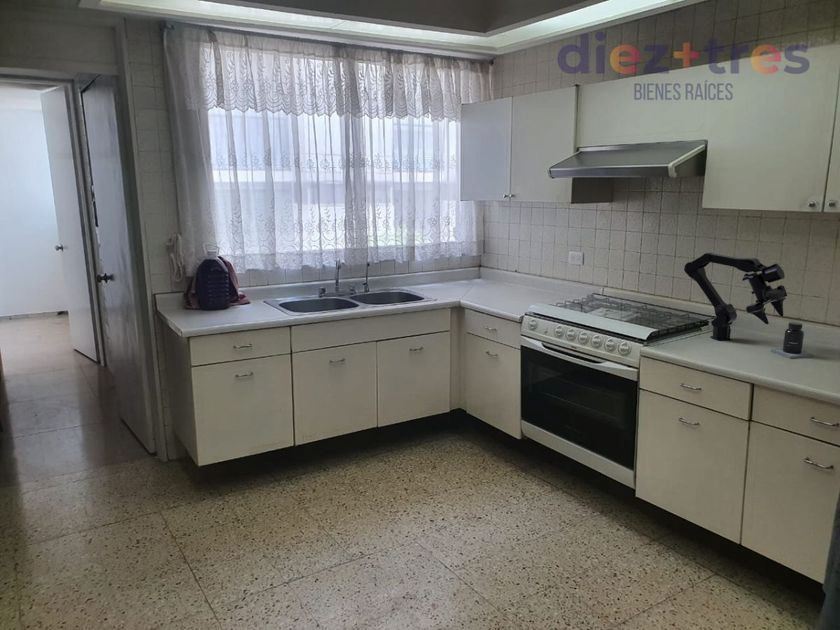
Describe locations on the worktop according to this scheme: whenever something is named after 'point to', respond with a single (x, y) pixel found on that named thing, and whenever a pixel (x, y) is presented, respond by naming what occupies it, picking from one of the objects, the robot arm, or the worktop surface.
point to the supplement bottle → (793, 338)
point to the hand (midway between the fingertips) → (774, 320)
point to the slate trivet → (791, 356)
